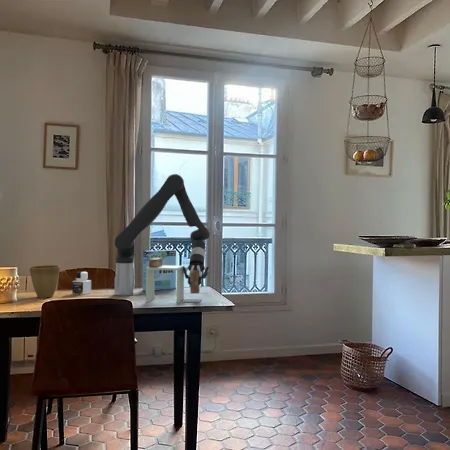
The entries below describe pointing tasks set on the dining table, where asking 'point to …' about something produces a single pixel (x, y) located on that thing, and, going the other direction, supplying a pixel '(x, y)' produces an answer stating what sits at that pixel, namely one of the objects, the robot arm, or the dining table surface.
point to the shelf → (151, 281)
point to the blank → (194, 281)
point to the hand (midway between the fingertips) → (194, 284)
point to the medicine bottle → (81, 284)
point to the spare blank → (155, 262)
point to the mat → (192, 300)
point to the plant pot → (45, 279)
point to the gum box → (162, 277)
